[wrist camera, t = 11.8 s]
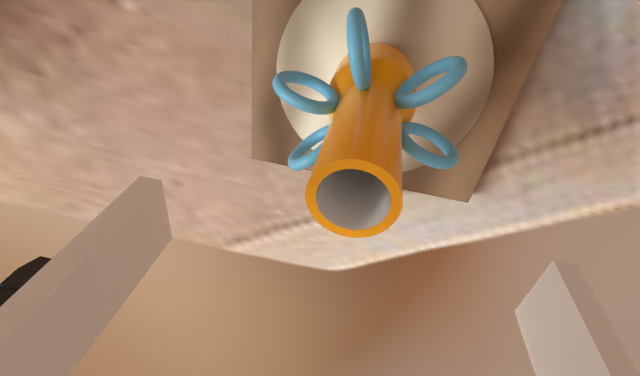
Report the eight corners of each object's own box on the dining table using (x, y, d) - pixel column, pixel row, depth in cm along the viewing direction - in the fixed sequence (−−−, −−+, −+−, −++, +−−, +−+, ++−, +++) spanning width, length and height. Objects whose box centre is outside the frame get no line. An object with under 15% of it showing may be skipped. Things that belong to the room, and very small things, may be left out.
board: (257, 150, 34) (226, 195, 28) (265, -365, 17) (191, -534, 11) (465, 193, 32) (480, 250, 26) (703, -330, 15) (898, -507, 9)
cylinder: (489, 50, 24) (582, 160, 12) (412, 167, 30) (421, 318, 18) (324, -27, 23) (242, 7, 11) (279, 109, 29) (196, 227, 17)
